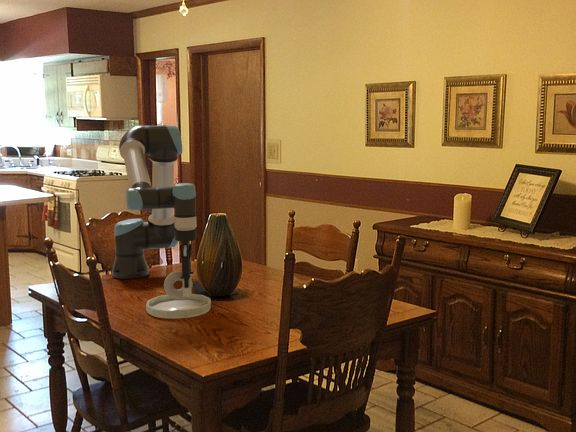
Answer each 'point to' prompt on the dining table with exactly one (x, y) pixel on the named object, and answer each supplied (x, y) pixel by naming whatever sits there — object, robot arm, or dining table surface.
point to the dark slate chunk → (202, 291)
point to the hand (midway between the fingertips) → (187, 294)
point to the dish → (178, 306)
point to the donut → (170, 285)
